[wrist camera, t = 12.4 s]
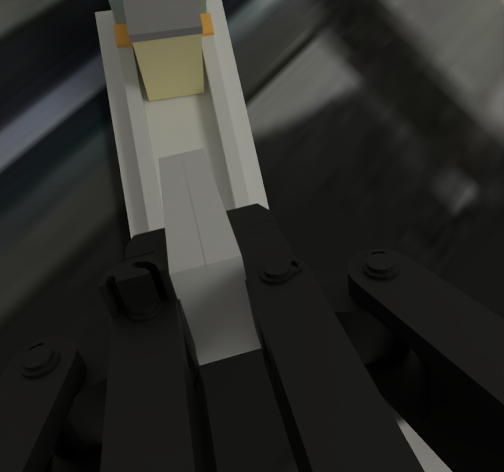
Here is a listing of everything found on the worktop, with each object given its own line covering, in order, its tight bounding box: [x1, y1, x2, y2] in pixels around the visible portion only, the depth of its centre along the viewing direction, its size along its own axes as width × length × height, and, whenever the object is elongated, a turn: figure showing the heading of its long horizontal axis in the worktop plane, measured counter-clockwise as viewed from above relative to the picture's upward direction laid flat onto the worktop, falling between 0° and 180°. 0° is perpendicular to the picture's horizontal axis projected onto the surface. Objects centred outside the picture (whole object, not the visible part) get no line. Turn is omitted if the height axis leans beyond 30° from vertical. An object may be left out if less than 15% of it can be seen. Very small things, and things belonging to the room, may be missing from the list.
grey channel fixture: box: [95, 0, 269, 239], centre depth 36 cm, size 12×28×10 cm, turn 12°
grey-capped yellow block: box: [123, 0, 204, 101], centre depth 36 cm, size 5×5×9 cm
